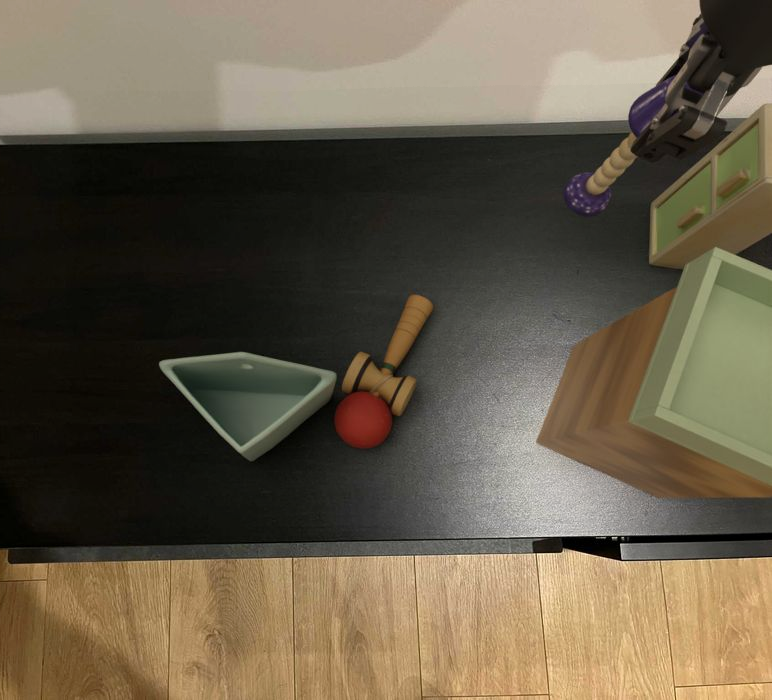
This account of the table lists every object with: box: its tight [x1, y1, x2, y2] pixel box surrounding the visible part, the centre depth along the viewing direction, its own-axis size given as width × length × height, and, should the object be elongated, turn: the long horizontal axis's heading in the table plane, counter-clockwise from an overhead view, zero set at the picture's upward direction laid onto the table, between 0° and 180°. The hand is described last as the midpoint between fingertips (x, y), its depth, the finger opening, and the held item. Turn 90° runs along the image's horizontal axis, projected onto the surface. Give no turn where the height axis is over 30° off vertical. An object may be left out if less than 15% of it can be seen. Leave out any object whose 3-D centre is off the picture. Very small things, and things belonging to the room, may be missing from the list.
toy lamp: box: [562, 75, 704, 218], centre depth 56 cm, size 5×5×17 cm
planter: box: [158, 351, 338, 462], centre depth 66 cm, size 16×8×20 cm, turn 86°
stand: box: [535, 286, 772, 499], centre depth 64 cm, size 14×12×24 cm
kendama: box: [334, 294, 434, 450], centre depth 74 cm, size 8×6×18 cm
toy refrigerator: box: [648, 103, 772, 271], centre depth 70 cm, size 8×7×21 cm
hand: (655, 123), depth 52 cm, fingers closed on toy lamp, 4 cm apart
